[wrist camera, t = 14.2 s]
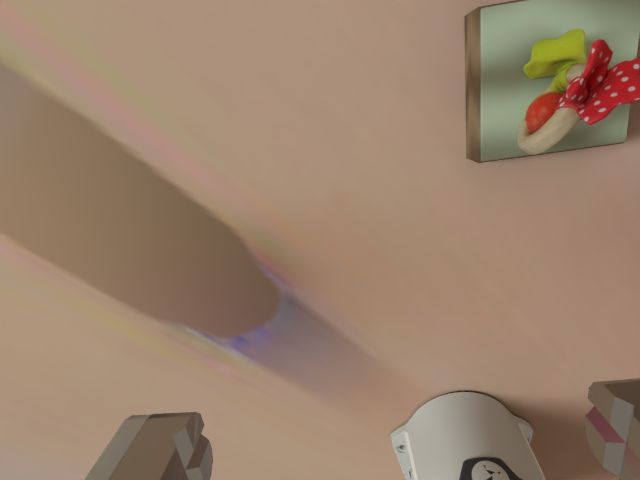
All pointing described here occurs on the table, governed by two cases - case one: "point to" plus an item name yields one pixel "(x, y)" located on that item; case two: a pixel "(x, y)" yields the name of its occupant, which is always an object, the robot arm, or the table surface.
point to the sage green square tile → (519, 90)
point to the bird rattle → (574, 88)
